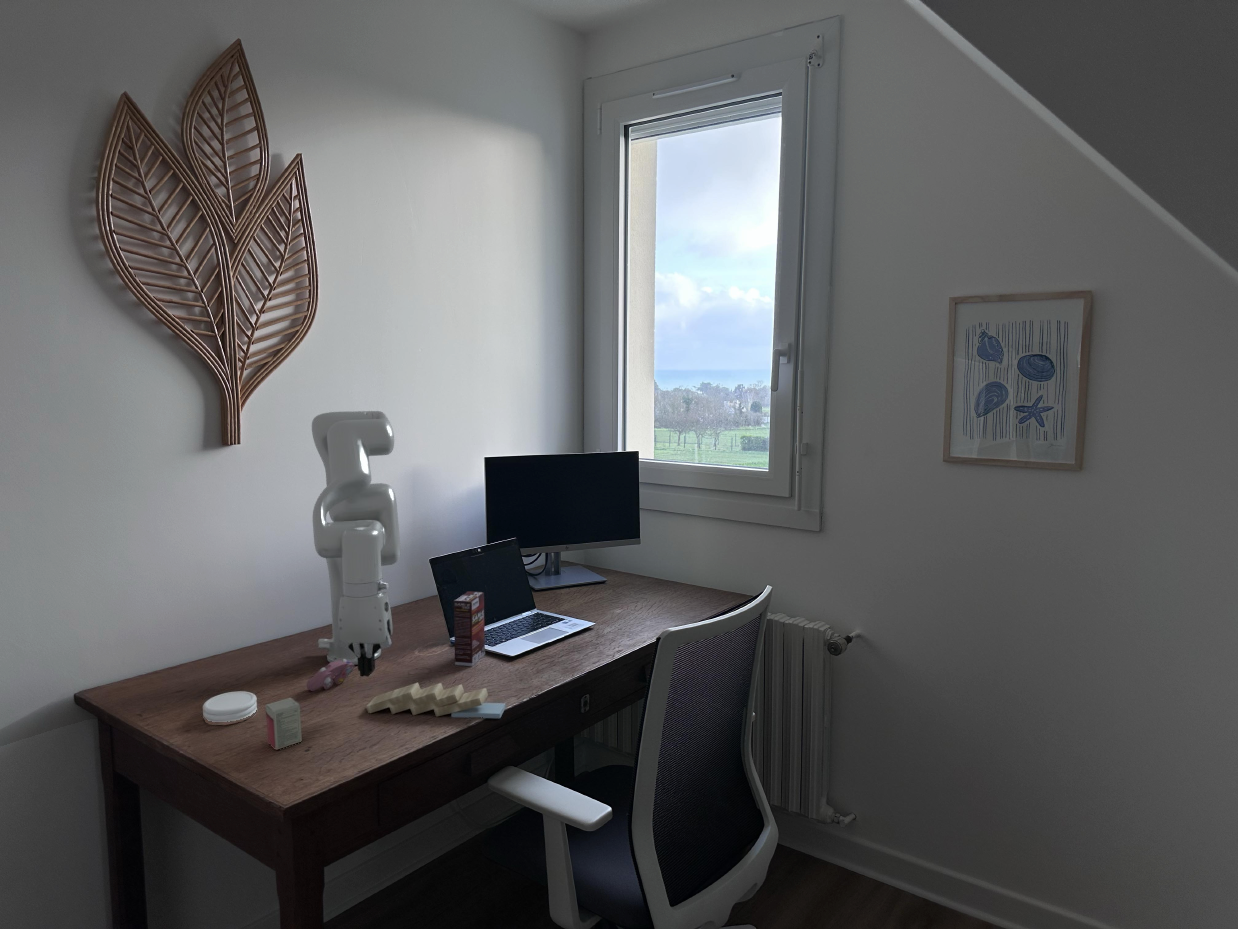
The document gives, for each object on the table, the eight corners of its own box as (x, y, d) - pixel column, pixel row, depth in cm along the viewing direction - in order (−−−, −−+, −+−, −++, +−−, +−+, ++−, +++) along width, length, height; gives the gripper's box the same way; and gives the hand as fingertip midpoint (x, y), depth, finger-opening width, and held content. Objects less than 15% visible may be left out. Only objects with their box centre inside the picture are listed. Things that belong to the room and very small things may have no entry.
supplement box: (473, 667, 191) (471, 602, 189) (454, 665, 192) (452, 600, 190) (486, 654, 199) (484, 591, 197) (468, 652, 200) (466, 590, 198)
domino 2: (389, 707, 165) (434, 692, 164) (397, 697, 170) (440, 682, 169) (392, 714, 165) (437, 699, 164) (400, 704, 170) (443, 689, 169)
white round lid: (253, 724, 162) (252, 707, 161) (198, 730, 159) (197, 713, 159) (261, 704, 171) (260, 688, 171) (209, 709, 169) (208, 693, 168)
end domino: (451, 712, 164) (499, 713, 163) (458, 702, 169) (505, 703, 168) (451, 719, 164) (500, 721, 164) (458, 709, 169) (505, 710, 168)
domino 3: (410, 708, 165) (454, 694, 164) (418, 698, 170) (461, 684, 169) (412, 715, 165) (457, 701, 164) (420, 705, 170) (464, 691, 169)
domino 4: (433, 709, 164) (479, 698, 163) (441, 699, 169) (485, 688, 168) (436, 716, 164) (481, 705, 163) (443, 706, 169) (488, 695, 168)
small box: (293, 735, 156) (291, 696, 155) (302, 743, 153) (300, 703, 152) (266, 743, 153) (264, 704, 152) (275, 751, 150) (272, 711, 149)
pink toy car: (316, 701, 176) (324, 676, 174) (303, 688, 178) (311, 663, 175) (351, 685, 184) (360, 661, 182) (338, 673, 186) (347, 649, 184)
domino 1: (365, 706, 166) (410, 691, 165) (374, 696, 170) (417, 682, 170) (368, 713, 166) (413, 699, 165) (377, 703, 171) (420, 689, 170)
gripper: (404, 583, 168) (408, 668, 170) (335, 582, 169) (339, 666, 171) (392, 593, 161) (395, 682, 163) (319, 592, 162) (323, 680, 164)
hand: (366, 673), depth 167 cm, fingers closed
